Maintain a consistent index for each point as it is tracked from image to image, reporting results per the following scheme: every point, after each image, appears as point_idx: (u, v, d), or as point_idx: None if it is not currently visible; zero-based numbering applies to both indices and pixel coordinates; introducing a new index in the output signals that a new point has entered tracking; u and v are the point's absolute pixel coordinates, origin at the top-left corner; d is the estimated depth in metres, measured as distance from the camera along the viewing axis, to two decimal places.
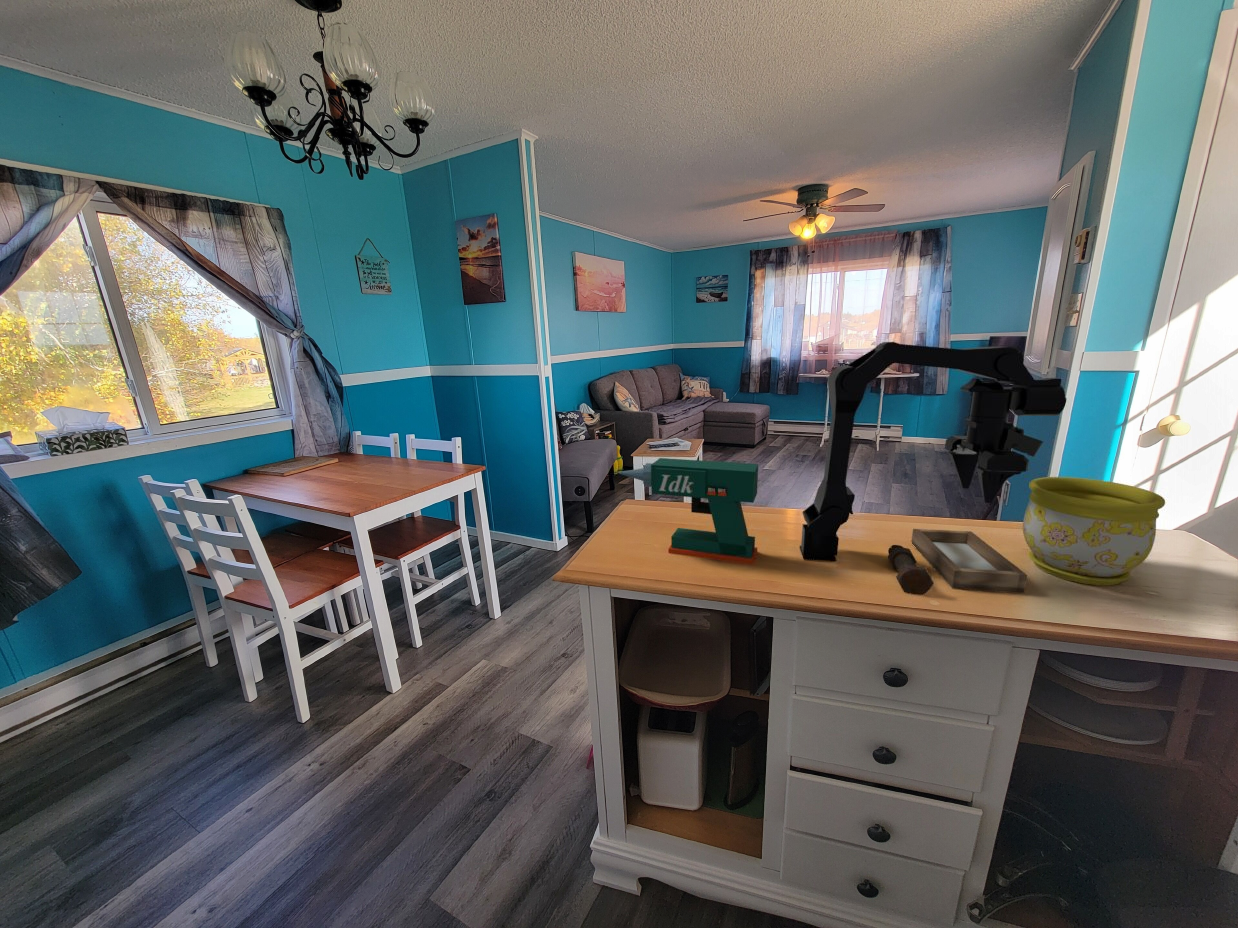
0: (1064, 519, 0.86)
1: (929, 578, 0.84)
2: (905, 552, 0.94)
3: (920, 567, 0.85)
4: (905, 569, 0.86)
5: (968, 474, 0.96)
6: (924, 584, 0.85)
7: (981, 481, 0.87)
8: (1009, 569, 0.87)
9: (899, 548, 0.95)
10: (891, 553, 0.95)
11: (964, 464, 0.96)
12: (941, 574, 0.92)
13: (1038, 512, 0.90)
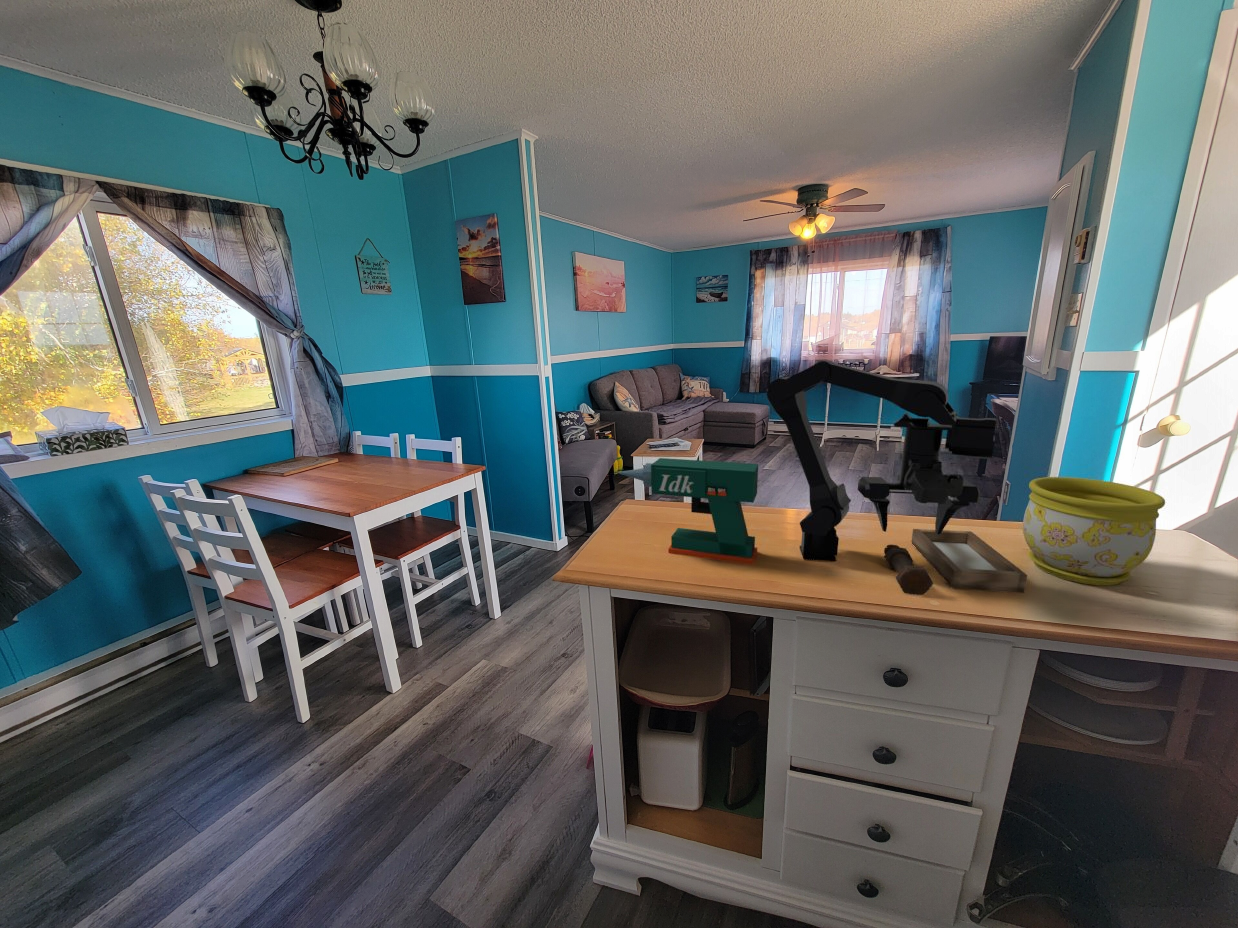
0: (1064, 519, 0.86)
1: (929, 578, 0.84)
2: (902, 552, 0.94)
3: (919, 567, 0.85)
4: (905, 570, 0.85)
5: (940, 519, 0.89)
6: (924, 584, 0.85)
7: None
8: (1009, 569, 0.87)
9: (895, 547, 0.95)
10: (888, 553, 0.95)
11: (941, 507, 0.89)
12: (941, 574, 0.92)
13: (1038, 512, 0.90)
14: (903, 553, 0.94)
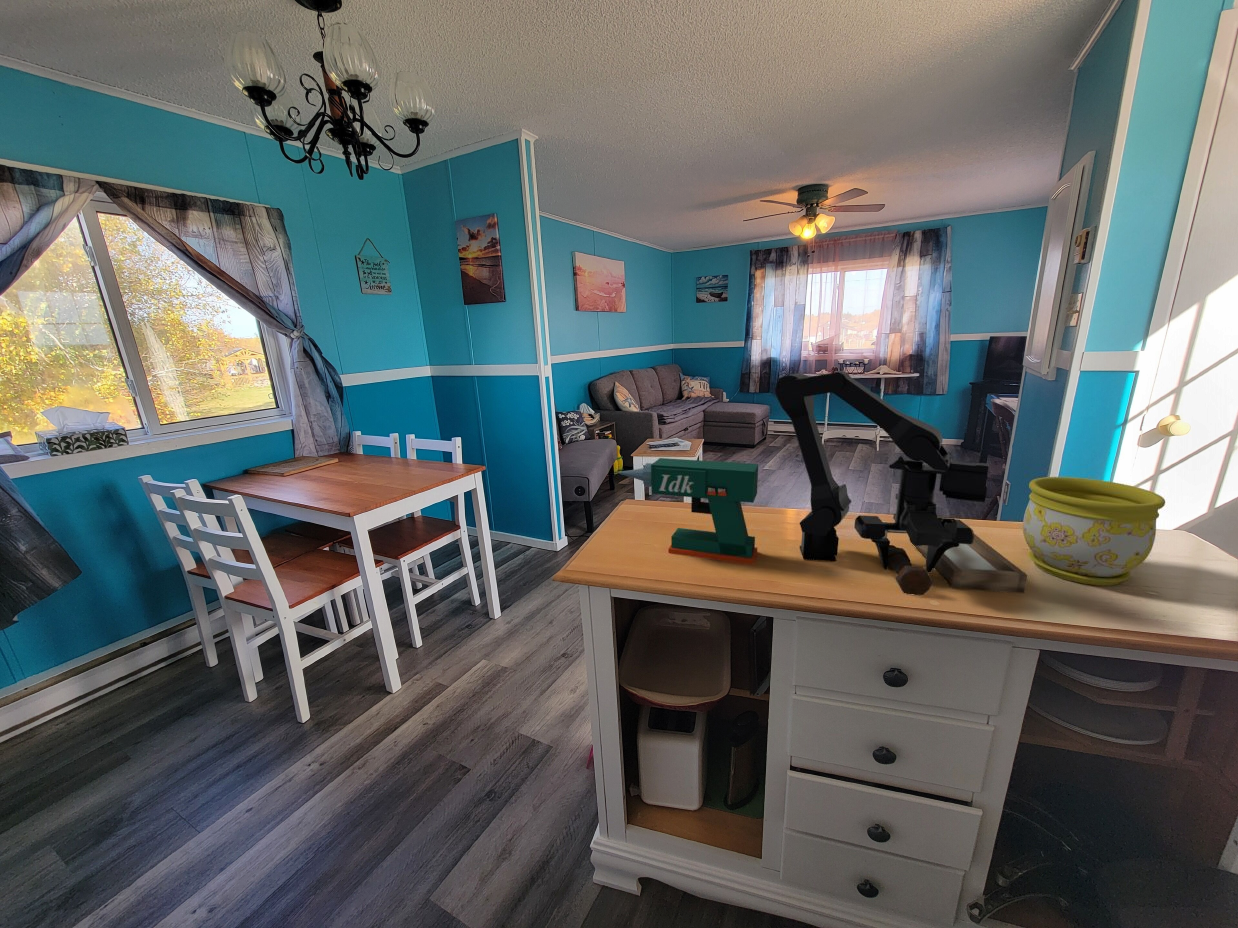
0: (1064, 519, 0.86)
1: (928, 578, 0.84)
2: (899, 552, 0.94)
3: (919, 567, 0.85)
4: (905, 570, 0.85)
5: (930, 557, 0.91)
6: (924, 584, 0.85)
7: (877, 543, 0.94)
8: (1009, 569, 0.87)
9: (893, 547, 0.95)
10: None
11: (931, 546, 0.91)
12: (941, 574, 0.92)
13: (1038, 512, 0.90)
14: (901, 553, 0.94)
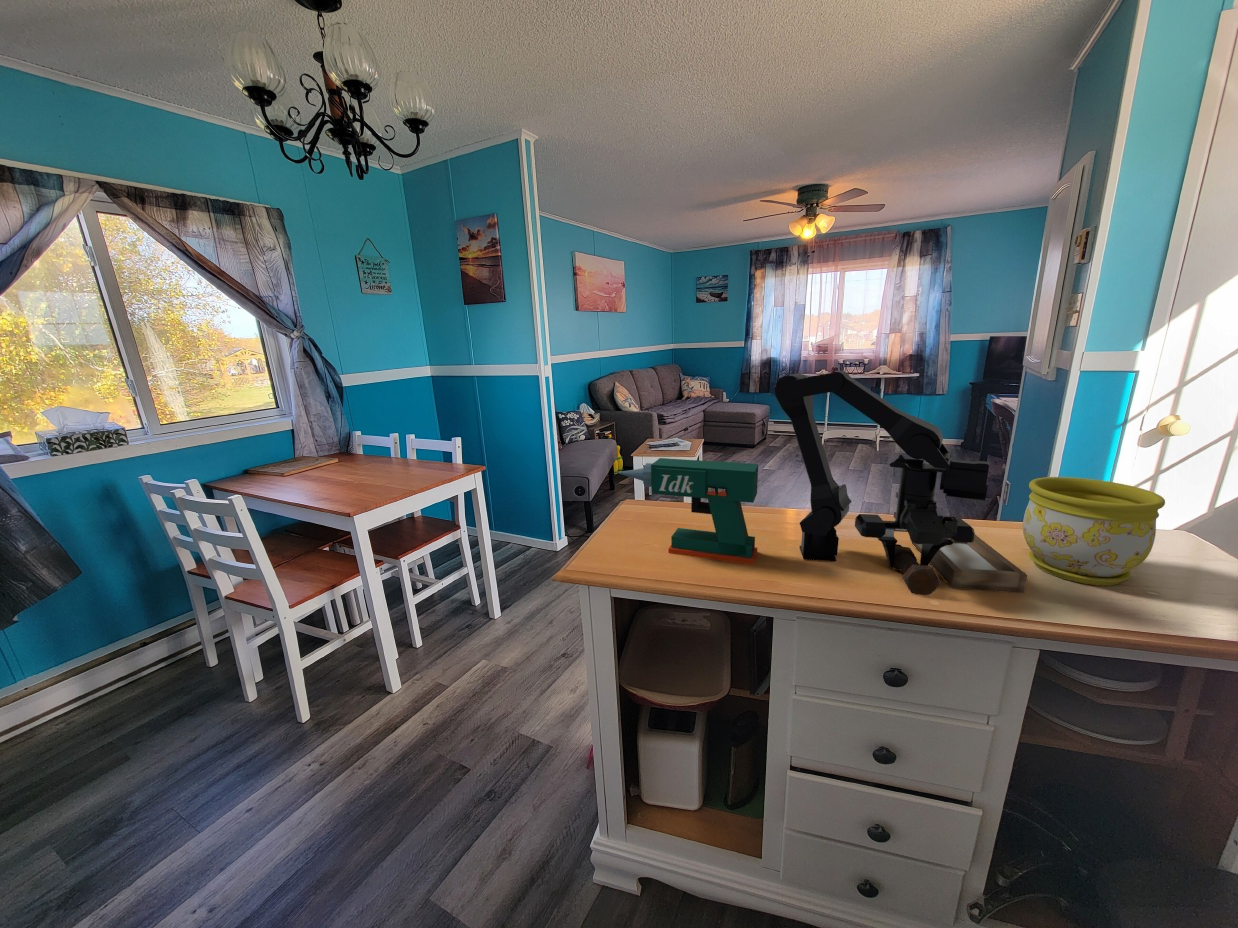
0: (1064, 519, 0.86)
1: (936, 577, 0.84)
2: (906, 551, 0.93)
3: (926, 566, 0.85)
4: (912, 569, 0.85)
5: (924, 556, 0.91)
6: (931, 583, 0.84)
7: (883, 542, 0.94)
8: (1009, 569, 0.87)
9: (899, 547, 0.95)
10: None
11: (925, 544, 0.91)
12: (941, 574, 0.92)
13: (1038, 512, 0.90)
14: (907, 552, 0.93)
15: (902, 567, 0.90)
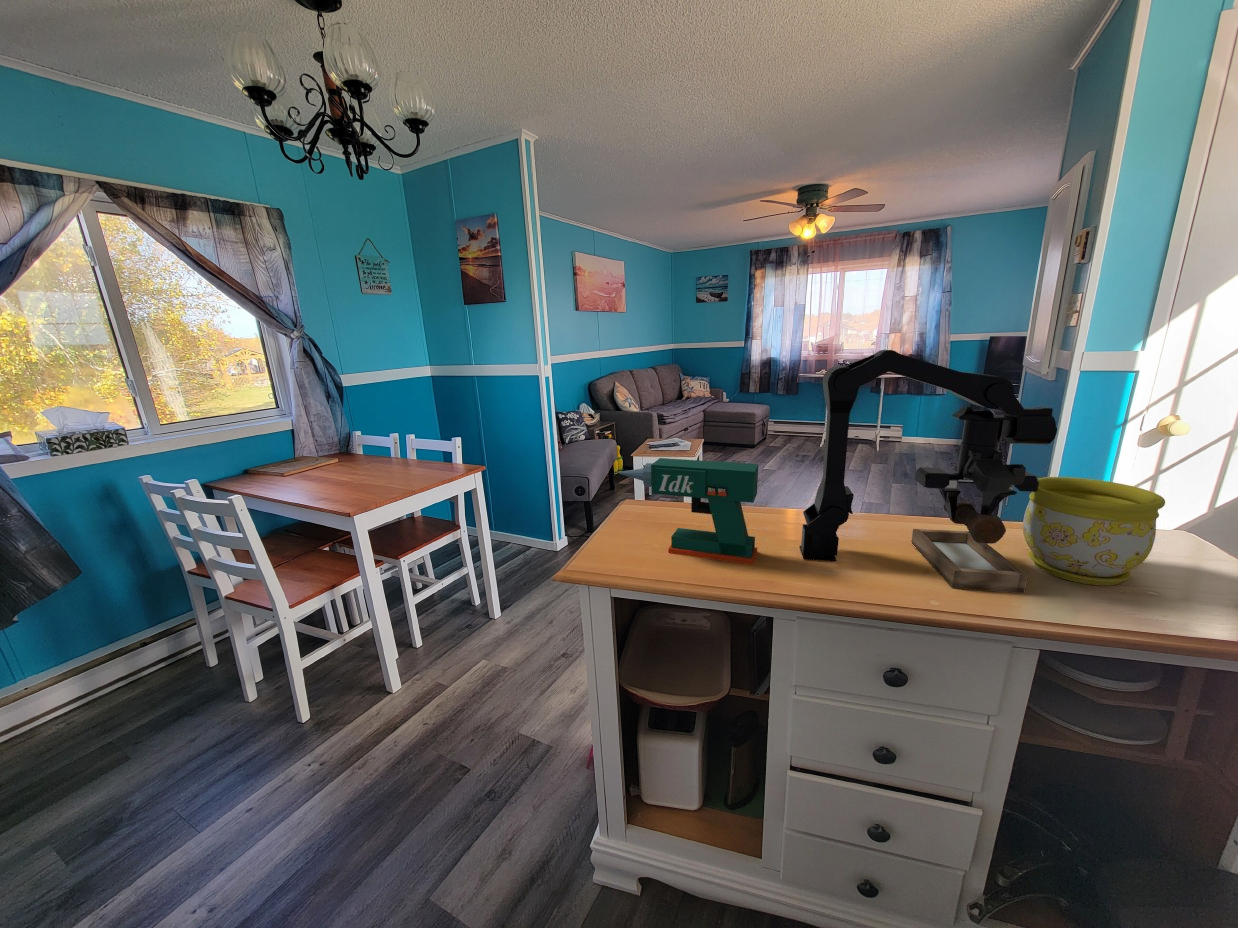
0: (1064, 519, 0.86)
1: (1002, 525, 0.85)
2: (966, 505, 0.94)
3: (992, 515, 0.86)
4: (978, 518, 0.86)
5: (986, 507, 0.92)
6: (997, 532, 0.86)
7: None
8: (1009, 569, 0.87)
9: (958, 501, 0.96)
10: None
11: (987, 496, 0.92)
12: (941, 574, 0.92)
13: (1038, 512, 0.90)
14: (967, 506, 0.94)
15: (964, 519, 0.91)
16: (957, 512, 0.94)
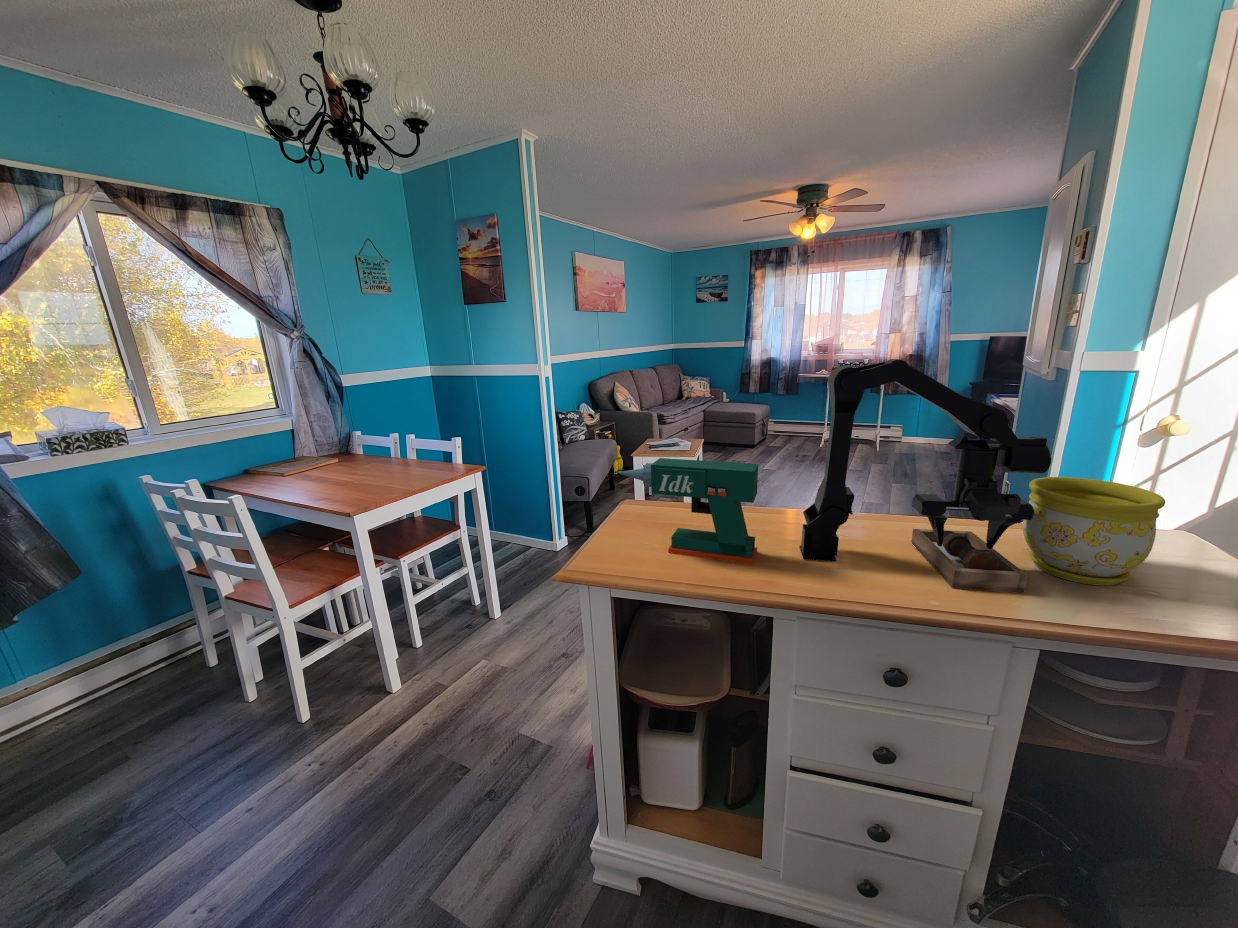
0: (1064, 519, 0.86)
1: (996, 561, 0.87)
2: (961, 537, 0.96)
3: (986, 550, 0.88)
4: (972, 554, 0.88)
5: (991, 534, 0.93)
6: (991, 567, 0.87)
7: None
8: (1009, 569, 0.87)
9: (953, 533, 0.98)
10: (946, 539, 0.98)
11: (992, 523, 0.93)
12: (941, 574, 0.92)
13: (1038, 512, 0.90)
14: (962, 538, 0.96)
15: (959, 552, 0.93)
16: (952, 544, 0.96)
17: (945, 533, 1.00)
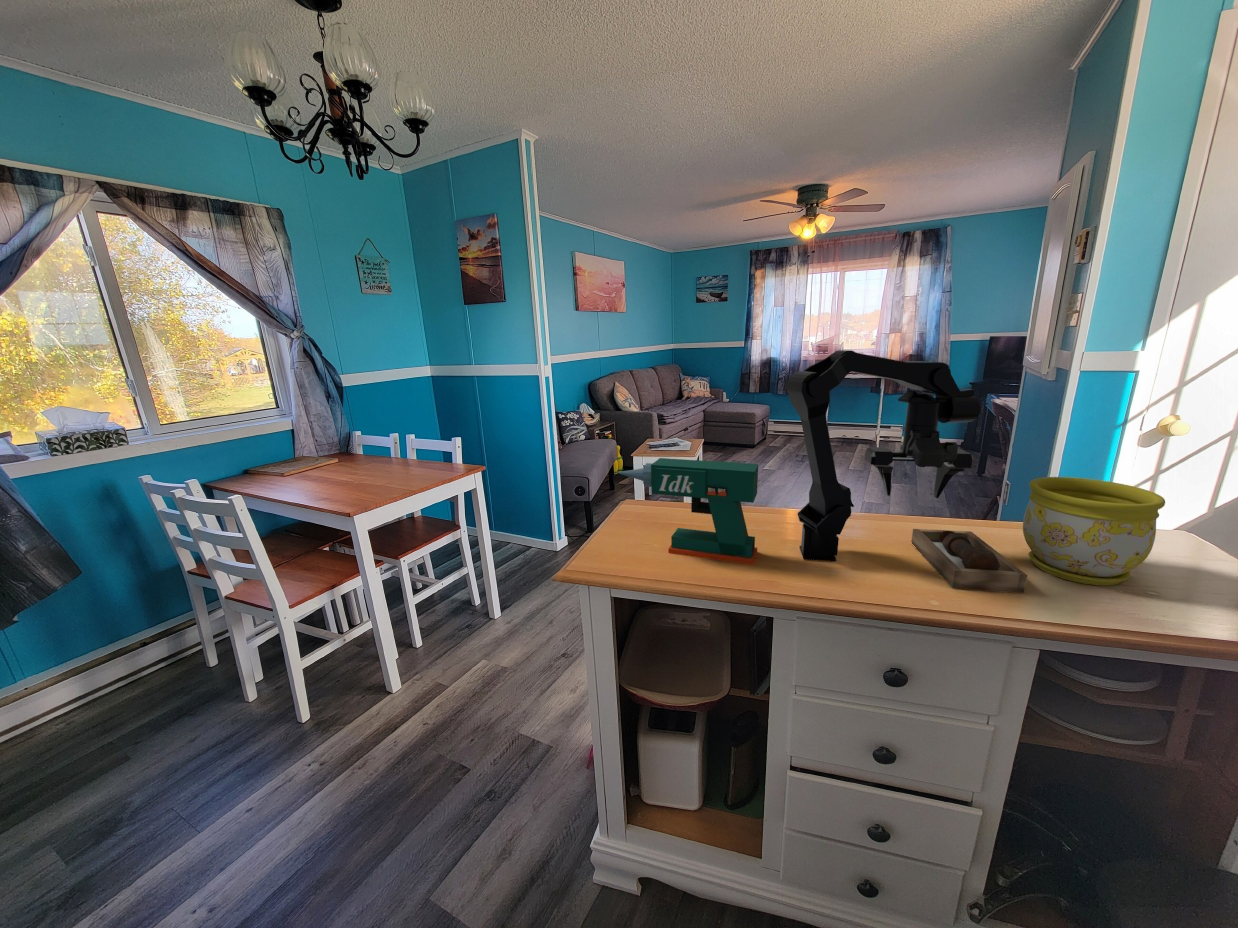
0: (1064, 519, 0.86)
1: (996, 561, 0.87)
2: (961, 537, 0.96)
3: (986, 551, 0.88)
4: (973, 554, 0.88)
5: (938, 484, 1.00)
6: (991, 567, 0.87)
7: None
8: (1009, 569, 0.87)
9: (954, 533, 0.97)
10: (946, 539, 0.98)
11: (939, 474, 1.00)
12: (941, 574, 0.92)
13: (1038, 512, 0.90)
14: (962, 538, 0.96)
15: (959, 552, 0.93)
16: (952, 544, 0.96)
17: (945, 533, 1.00)
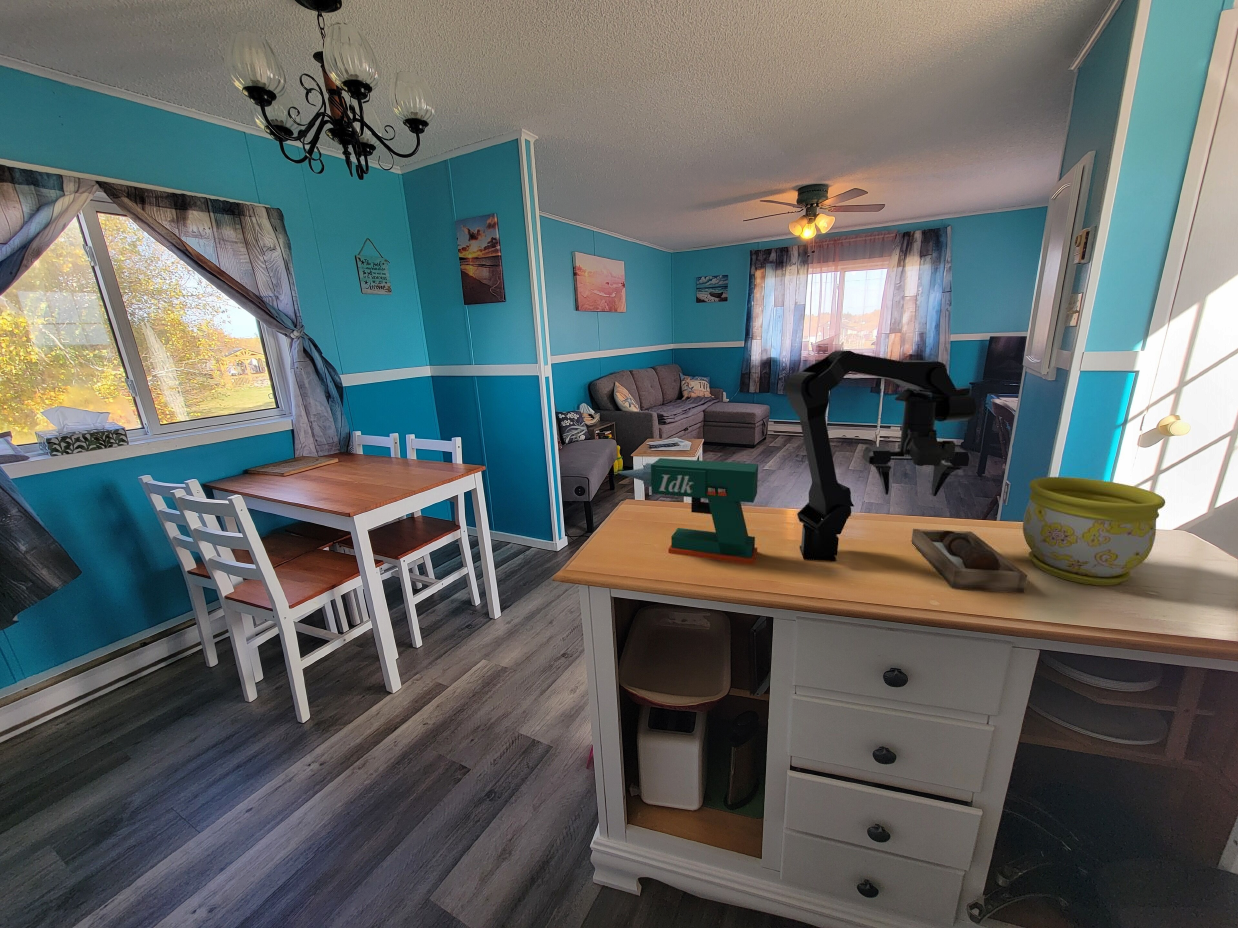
0: (1064, 519, 0.86)
1: (997, 561, 0.87)
2: (962, 537, 0.96)
3: (987, 551, 0.88)
4: (973, 554, 0.88)
5: (935, 482, 1.00)
6: (992, 567, 0.87)
7: None
8: (1009, 569, 0.87)
9: (954, 533, 0.97)
10: (947, 539, 0.98)
11: (936, 472, 1.00)
12: (941, 574, 0.92)
13: (1038, 512, 0.90)
14: (963, 538, 0.96)
15: (959, 552, 0.93)
16: (953, 544, 0.96)
17: (945, 533, 1.00)
